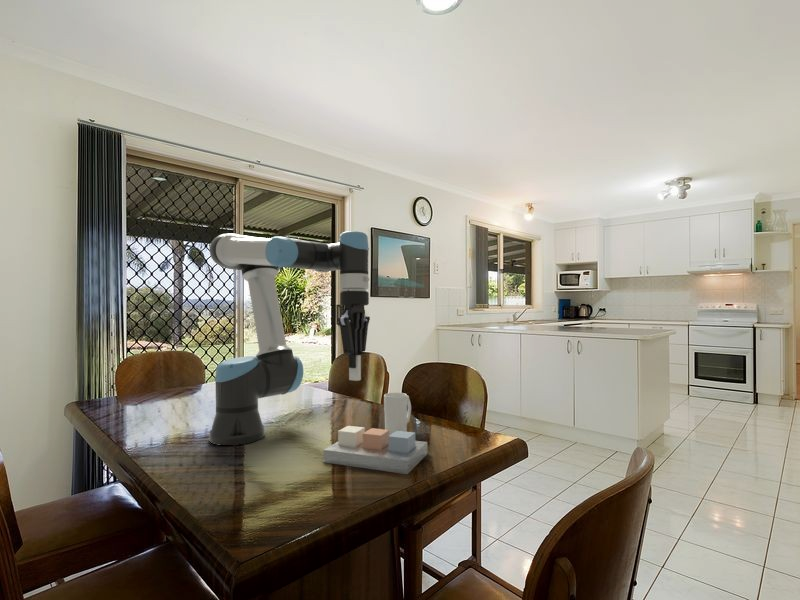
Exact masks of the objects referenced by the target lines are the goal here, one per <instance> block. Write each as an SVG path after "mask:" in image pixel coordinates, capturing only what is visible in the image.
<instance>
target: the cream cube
mask: <svg viewBox="0 0 800 600" xmlns="http://www.w3.org/2000/svg"><path fill="white" fill-rule="evenodd" d="M364 432H366V428H365V427H364V426H355V425H354V426H353V425H346V426H345V427H343V428H341V429H339V430H337V442H338V445H340V446H349V447H358V446H359V445H361V444H362V443H363V433H364Z"/></svg>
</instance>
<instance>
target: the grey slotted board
mask: <svg viewBox="0 0 800 600" xmlns="http://www.w3.org/2000/svg"><path fill="white" fill-rule="evenodd" d="M415 443H416V448H415V449H414V450H413V451H412V452H411V453H409V454H405V453H397V452H389V446H387V447H386V448H385V449H383V450H382V451H381V450H373V449H365V448H363V443H362V444H361V445H359V446H358V447H349V446H340V445H338V441H336V442H335V443H332V444H331V445H329V446H327V447H325V448H324V449H323V450H322V455H323V456H322V457H323V463H328V464H334V465H341V466H348V467H353V468H354V467H356V468H360V469H361V468H362V469H369V470H376V471H382V472H388V473H389V472H390V473H396V474H401V475H408V474H409V473H410V472H411V471H412V470H413V469H414V468H415V467H416V466H417V465H418V464H419V463H420V462H421V461H422V460H424V458H425V457H426V456H427V455H428V441H420V440H415Z"/></svg>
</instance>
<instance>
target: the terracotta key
mask: <svg viewBox="0 0 800 600" xmlns="http://www.w3.org/2000/svg"><path fill="white" fill-rule="evenodd" d="M387 446H389V430H385V428H384V429H382V428H374V427H371V428H370V429H368V430H365V432H364V433H363V448H365V449H373V450H381V451H382V450H383V449H385V448H386V447H387Z"/></svg>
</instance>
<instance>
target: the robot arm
mask: <svg viewBox="0 0 800 600" xmlns="http://www.w3.org/2000/svg"><path fill="white" fill-rule="evenodd" d="M368 239H369V238H368V234H366V233H365V232H362V231H355V230H352V231H350V230H349V231H343V232H341V233H340V235H339V241H338V242H334V243H324V242H317V241H310V240H302V239H299V238H298V239H297V238H292V237H291V238H290V237H289V236H273V237H271V238H270V237H269V238H268V237H267V238H266V237H257V236H250V235H243V234H237V233H222V234H219V235H218V236H216V237H214V238H213V239H212V241H211V243H210V245H209V254H210V257H211V259H212V260H213V262H214V263H216V264H217V265H218V266H219V267H222V268H224V269H228V270H235V271H236V270H238V271H241V276H242V279H243V280H244V281H246V282H247V284H248V289H249V295H250V301H251V307H252V308H251V309H252V313H253V320H254V326H255V327H254V328H255V332H256V339H257V343H258V352H257V353H256V355H247V356H239V357H234V358H230V359H225V360H223V361H220V362H219V363H218V364H217V366H216V368H215V375H214V376H215V377H214V381H215V415H214V419H213V422H212V426H211V430H210V432H209V434H208V442H209V441H210V442H212V443H215V444H220V445H233V446H240V445H239V444H241V445H246V443H247V444H250V443H254V442H257V441H260V439H263V438H264V437H265V426H264V424H263V422H262V418H261V414H260V410H259V399H262V398H267V397H273V396H279V395H286V394H289V393H292V392H295V391H297V390H298V389H299V387H300V386H301V383H302V381H303V379H304V378H303V377H304V366H303V362H302V360H300V357H298V356H296V355H294V353H293V349H292V348H291V347H289V346H288V345H287V341H286V337H285V330H284V325H283V320H282V319H283V318H282V314H281V308H280V302H279V296H278V291H277V285H276V277H277V276H278V274H279V270H281V268H290V269H303V270H314V271H315V272H317V273H320V272H321V273H329V272H334V271H339V289H340V290H341V292H339V293H340V295H339V301H340V302H339V303H340V305H341V306H344V308H343V312H342V313H343V315H342V316H341V317H340V316H339V317H338V318H337V322H338V325H339V329H340V337H341V342H342V343H341V345H342V350H343V354H344V355H345V356H348V381H354V382H359V381H361V380H362V357H361V356H362V355H363V356H364V355H365V354H366V353H365V351H366V348H367V341H368V330H369V329H368V328H369V325H370V324H369V323H370V320H371V317H370V316H367V315H366V310H365V306H368V305H369V302H370V301H369V300H370V299H369V298H370V297H369V296H370V295H369V294H370V293H369V292H368V291H367V290H368V289H369V281H370V278H369V250H370V247H369V240H368ZM210 442H209V443H210Z"/></svg>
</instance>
